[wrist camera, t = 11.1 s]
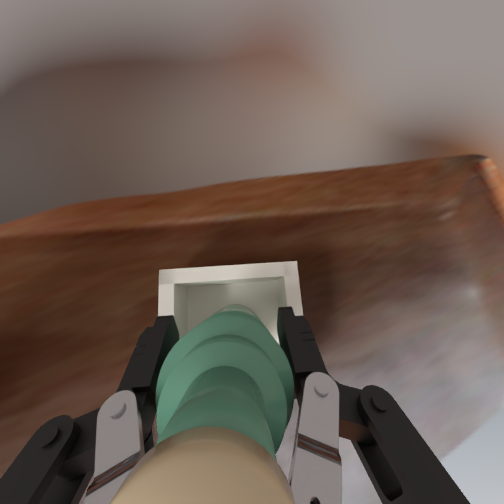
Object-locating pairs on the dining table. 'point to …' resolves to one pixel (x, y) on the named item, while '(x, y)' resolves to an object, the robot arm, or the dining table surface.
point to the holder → (229, 292)
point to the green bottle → (218, 418)
